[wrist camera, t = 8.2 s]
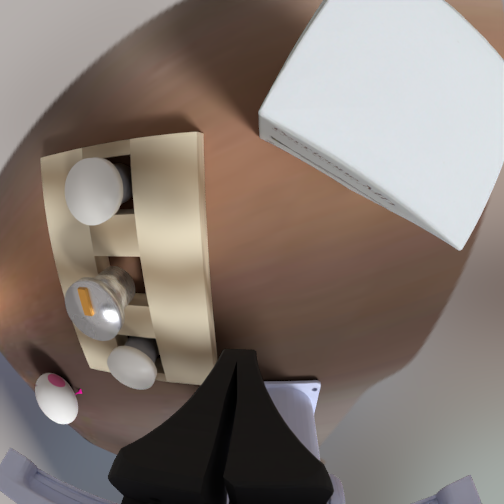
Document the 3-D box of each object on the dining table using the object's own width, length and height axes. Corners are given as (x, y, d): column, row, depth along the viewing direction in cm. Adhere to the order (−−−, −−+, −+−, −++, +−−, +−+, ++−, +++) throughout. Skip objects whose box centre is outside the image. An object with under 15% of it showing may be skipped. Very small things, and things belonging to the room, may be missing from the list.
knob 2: (171, 362, 24) (159, 392, 20) (130, 357, 24) (115, 385, 20) (163, 325, 23) (147, 355, 19) (120, 321, 23) (100, 348, 19)
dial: (147, 311, 19) (124, 347, 15) (100, 307, 20) (73, 338, 16) (137, 258, 18) (108, 286, 14) (89, 257, 18) (55, 282, 14)
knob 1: (145, 210, 19) (120, 224, 15) (98, 212, 19) (69, 226, 16) (142, 151, 18) (114, 153, 14) (94, 158, 18) (62, 163, 14)
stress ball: (58, 347, 30) (19, 363, 24) (80, 380, 25) (34, 400, 20) (74, 387, 32) (40, 403, 27) (98, 420, 27) (59, 440, 22)
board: (218, 370, 24) (216, 385, 22) (98, 356, 25) (90, 368, 23) (203, 133, 18) (196, 131, 16) (55, 156, 18) (40, 158, 16)
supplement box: (255, 138, 18) (241, 110, 6) (307, 51, 15) (363, -61, 3) (349, 193, 19) (462, 260, 7) (396, 109, 16) (530, 86, 4)
